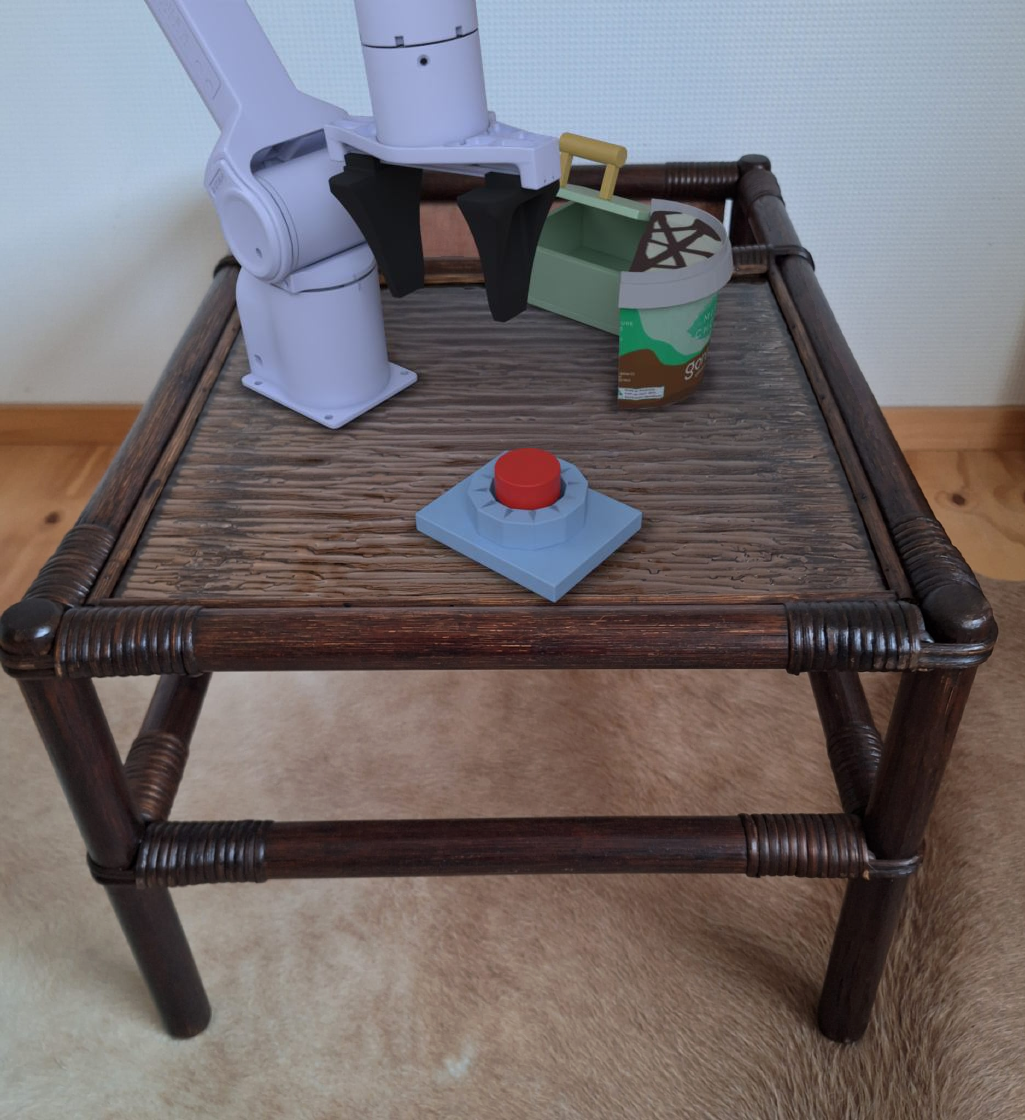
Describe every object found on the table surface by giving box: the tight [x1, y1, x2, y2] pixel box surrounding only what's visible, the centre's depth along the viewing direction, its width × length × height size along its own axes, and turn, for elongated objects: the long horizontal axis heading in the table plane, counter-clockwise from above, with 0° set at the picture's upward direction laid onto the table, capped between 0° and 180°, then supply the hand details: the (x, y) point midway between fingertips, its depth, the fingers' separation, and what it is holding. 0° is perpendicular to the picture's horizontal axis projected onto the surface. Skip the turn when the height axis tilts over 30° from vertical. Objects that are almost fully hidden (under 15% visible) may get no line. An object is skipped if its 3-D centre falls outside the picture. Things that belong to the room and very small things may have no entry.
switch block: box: [414, 450, 643, 604], centre depth 60 cm, size 10×8×3 cm
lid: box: [556, 131, 651, 222], centre depth 78 cm, size 11×12×4 cm
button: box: [494, 447, 561, 511], centre depth 59 cm, size 4×4×2 cm
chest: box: [527, 200, 649, 336], centre depth 82 cm, size 10×12×5 cm
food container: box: [617, 198, 734, 410], centre depth 70 cm, size 12×6×10 cm, turn 165°
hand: (457, 302), depth 59 cm, fingers open, 7 cm apart
